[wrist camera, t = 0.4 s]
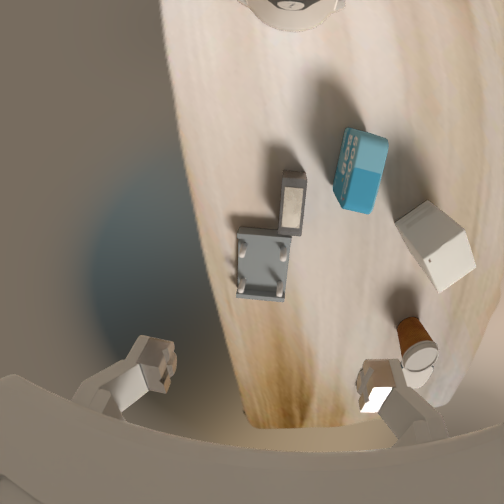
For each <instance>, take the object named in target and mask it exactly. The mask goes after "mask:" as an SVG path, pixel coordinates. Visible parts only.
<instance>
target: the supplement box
mask: <svg viewBox="0 0 504 504" xmlns="http://www.w3.org/2000/svg"><path fill="white" fill-rule="evenodd" d="M395 225H396V227H397V229H398V230H399V232H400V234H401V236H402V238H403V240H404V242H405V243H406V245H407V247H408V249H409V251H410V253H411V254H412V255H413V257H414V258H415V260H416V261H417V262H418V264H419V265H420V267H421V268H422V269H423V271H424V272H425V274H426V275H427V277H428V278H429V280H430V281H431V283H432V284H433V286H434V287H435V289H436V290H437V292H438V293H441V292H442V291H444V290H445V289H446V288H448V287H449V286H451V285H452V284H454V283H455V282H456V281H458V280H459V279H461V278H462V277H463V276H465V275H466V274H468V273H469V272H470V271H472V270H473V269H474V268H476V264H475V261H474V257H473V254H472V251H471V248H470V245H469V241H468V238H467V235H466V232H465V229H464V228H463V227H461V226H460V225H459V224H458V223H456V222H455V221H454V220H453V219H452V218H450V217H449V216H448V215H447V214H445V213H444V212H443V211H442V210H440V209H439V208H438V207H437V206H435V205H434V204H433V203H431V202H430V201H429V200H426V201H425V202H424V203H422V204H421V205H419V206H418V207H417V208H415V209H414V210H412V211H411V212H409V213H408V214H407V215H405V216H404V217H402V218H401V219H399V220H398V221H396V222H395Z"/></svg>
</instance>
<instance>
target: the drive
mask: <svg viewBox="0 0 504 504" xmlns="http://www.w3.org/2000/svg"><path fill="white" fill-rule="evenodd" d="M306 188H307V177H306V173H305V172H298V171H287V170H283V177H282V190H281V203H280V216H279V228H278V234H281V235H292V236H301V233H302V225H303V216H304V207H305V197H306Z"/></svg>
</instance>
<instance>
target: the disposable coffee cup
mask: <svg viewBox="0 0 504 504" xmlns="http://www.w3.org/2000/svg"><path fill="white" fill-rule="evenodd" d="M397 332H398V337H399V343H400V349H401V355H402V367H403V368H404V369H406V371H407V372H409V373H420V372H423V371H425V370H427V369H429V368H430V367H431V366H432V365H434V364H435V362H436V361H437V359H438V357H439V347H438V345H437V344H436V343H435V342H433V340H432V339H431V337H430V336H429V334H428V333H427V331H426V330H425V328H424V327H423V325H422V324H421V322H420V321H419V320H418V319H417V318H415V317H409V318H406V319H404V320H403V321H402V322H401V323H400V324H399V325H398V328H397Z"/></svg>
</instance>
